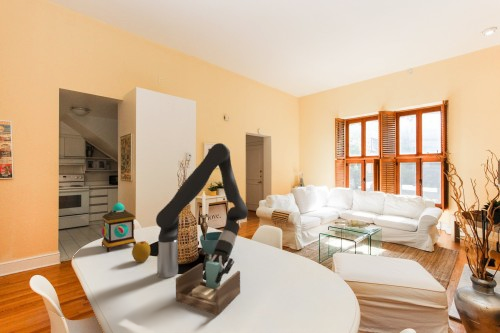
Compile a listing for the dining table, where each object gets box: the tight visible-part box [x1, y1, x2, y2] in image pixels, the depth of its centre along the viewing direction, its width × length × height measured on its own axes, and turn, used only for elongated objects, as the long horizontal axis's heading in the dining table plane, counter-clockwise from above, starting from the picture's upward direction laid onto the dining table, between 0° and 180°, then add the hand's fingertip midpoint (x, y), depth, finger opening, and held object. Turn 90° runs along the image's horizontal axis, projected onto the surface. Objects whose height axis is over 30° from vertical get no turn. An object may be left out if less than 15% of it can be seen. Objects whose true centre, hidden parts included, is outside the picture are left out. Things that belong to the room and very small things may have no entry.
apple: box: [131, 240, 151, 263], centre depth 135 cm, size 10×10×12 cm
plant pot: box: [199, 231, 222, 255], centre depth 142 cm, size 18×18×12 cm
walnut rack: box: [175, 262, 241, 316], centre depth 95 cm, size 20×16×10 cm
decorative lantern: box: [101, 202, 137, 253], centre depth 162 cm, size 20×20×30 cm
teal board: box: [205, 261, 221, 290], centre depth 97 cm, size 6×2×12 cm, turn 64°
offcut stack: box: [192, 285, 216, 303], centre depth 91 cm, size 9×5×4 cm, turn 64°
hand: (210, 281), depth 96 cm, fingers closed on teal board, 5 cm apart
